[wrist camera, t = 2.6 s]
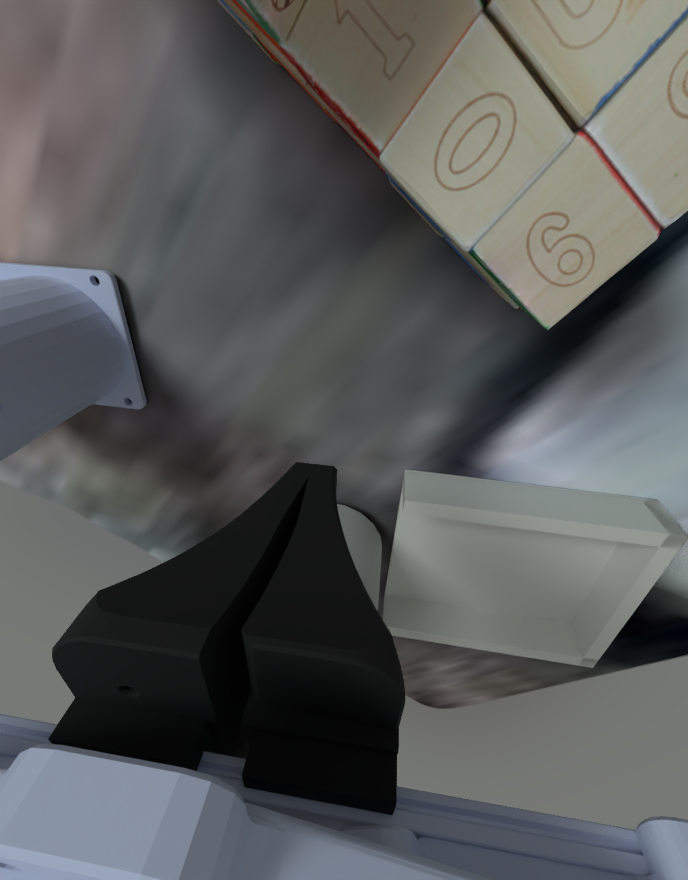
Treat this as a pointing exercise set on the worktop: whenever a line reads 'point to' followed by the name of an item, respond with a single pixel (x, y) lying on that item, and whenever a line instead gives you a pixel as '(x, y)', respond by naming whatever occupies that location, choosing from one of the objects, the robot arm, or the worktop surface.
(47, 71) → the worktop surface
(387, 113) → the stack of blocks
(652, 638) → the worktop surface
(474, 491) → the tray
